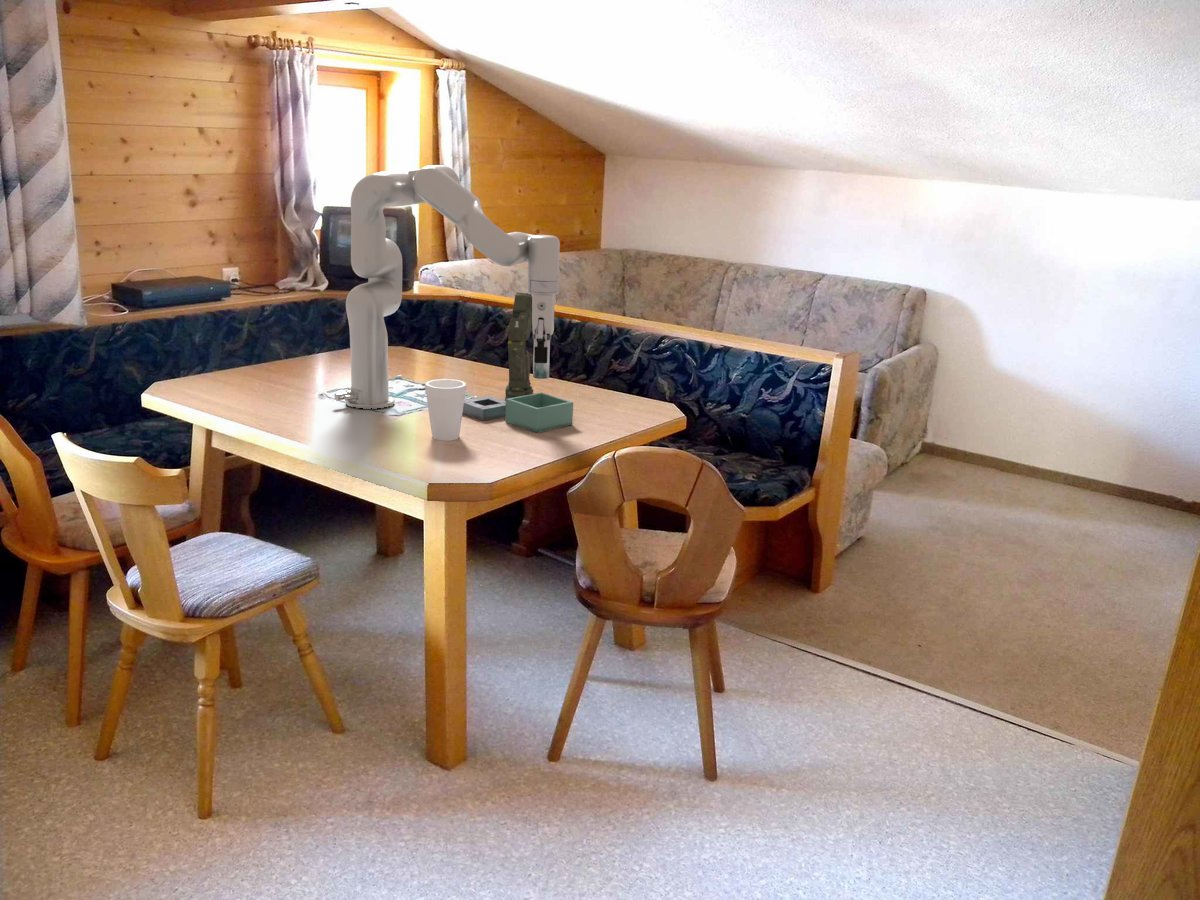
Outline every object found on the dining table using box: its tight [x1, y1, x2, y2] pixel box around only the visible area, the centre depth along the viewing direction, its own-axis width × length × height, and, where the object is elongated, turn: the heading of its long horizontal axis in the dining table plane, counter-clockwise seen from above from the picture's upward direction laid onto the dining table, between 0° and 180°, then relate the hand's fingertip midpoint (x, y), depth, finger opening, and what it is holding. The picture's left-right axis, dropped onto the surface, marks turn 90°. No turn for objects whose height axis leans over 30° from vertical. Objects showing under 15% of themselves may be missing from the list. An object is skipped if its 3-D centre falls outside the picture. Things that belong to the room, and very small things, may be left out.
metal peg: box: [532, 329, 552, 380], centre depth 249 cm, size 5×5×12 cm
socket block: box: [462, 395, 506, 422], centre depth 260 cm, size 10×10×3 cm
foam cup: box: [424, 378, 467, 442], centre depth 237 cm, size 10×9×13 cm
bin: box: [504, 392, 574, 433], centre depth 253 cm, size 12×12×6 cm
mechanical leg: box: [504, 292, 534, 401], centre depth 275 cm, size 14×7×30 cm, turn 168°
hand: (541, 360), depth 249 cm, fingers closed on metal peg, 4 cm apart
